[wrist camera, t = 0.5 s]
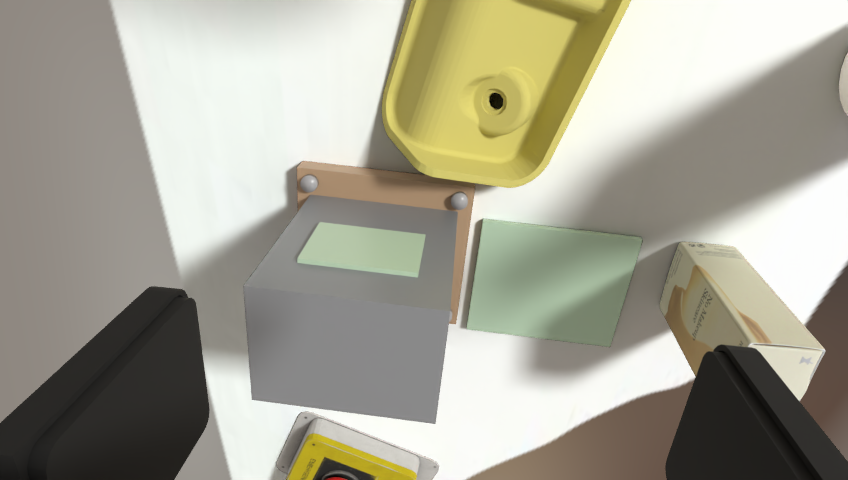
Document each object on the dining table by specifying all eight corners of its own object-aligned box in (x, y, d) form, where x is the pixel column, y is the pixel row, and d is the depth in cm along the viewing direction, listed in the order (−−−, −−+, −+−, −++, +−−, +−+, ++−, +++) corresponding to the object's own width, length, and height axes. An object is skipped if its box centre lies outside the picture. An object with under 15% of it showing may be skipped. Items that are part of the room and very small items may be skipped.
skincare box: (677, 239, 41) (750, 337, 30) (736, 244, 41) (831, 345, 30) (655, 310, 44) (715, 423, 33) (710, 315, 44) (788, 430, 33)
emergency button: (289, 439, 49) (440, 497, 50) (303, 404, 52) (442, 459, 54) (260, 500, 53) (401, 552, 54) (275, 463, 57) (406, 512, 58)
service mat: (482, 218, 41) (483, 221, 41) (640, 237, 41) (642, 240, 40) (466, 324, 46) (466, 329, 45) (608, 342, 46) (610, 347, 45)
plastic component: (534, 191, 38) (404, 173, 33) (491, 142, 43) (374, 120, 39) (699, -135, 28) (544, -224, 23) (616, -146, 33) (477, -220, 29)
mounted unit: (302, 160, 41) (221, 250, 28) (475, 180, 40) (474, 280, 27) (304, 295, 46) (237, 422, 33) (456, 313, 46) (448, 450, 33)
